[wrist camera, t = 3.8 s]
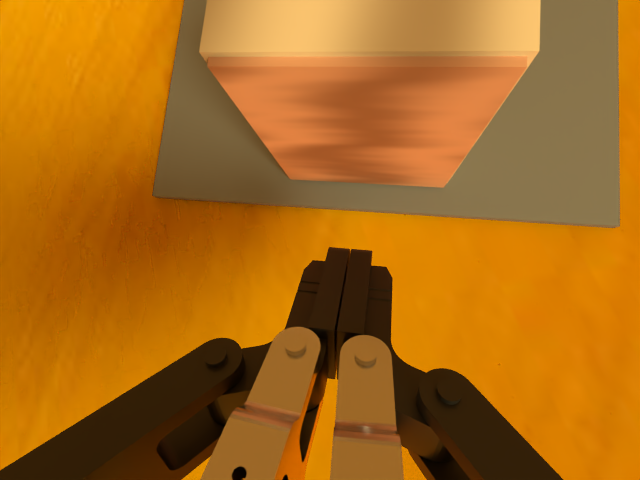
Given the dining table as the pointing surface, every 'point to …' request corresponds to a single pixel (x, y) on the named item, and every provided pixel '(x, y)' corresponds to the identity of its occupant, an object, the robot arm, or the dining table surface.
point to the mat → (475, 170)
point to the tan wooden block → (370, 80)
